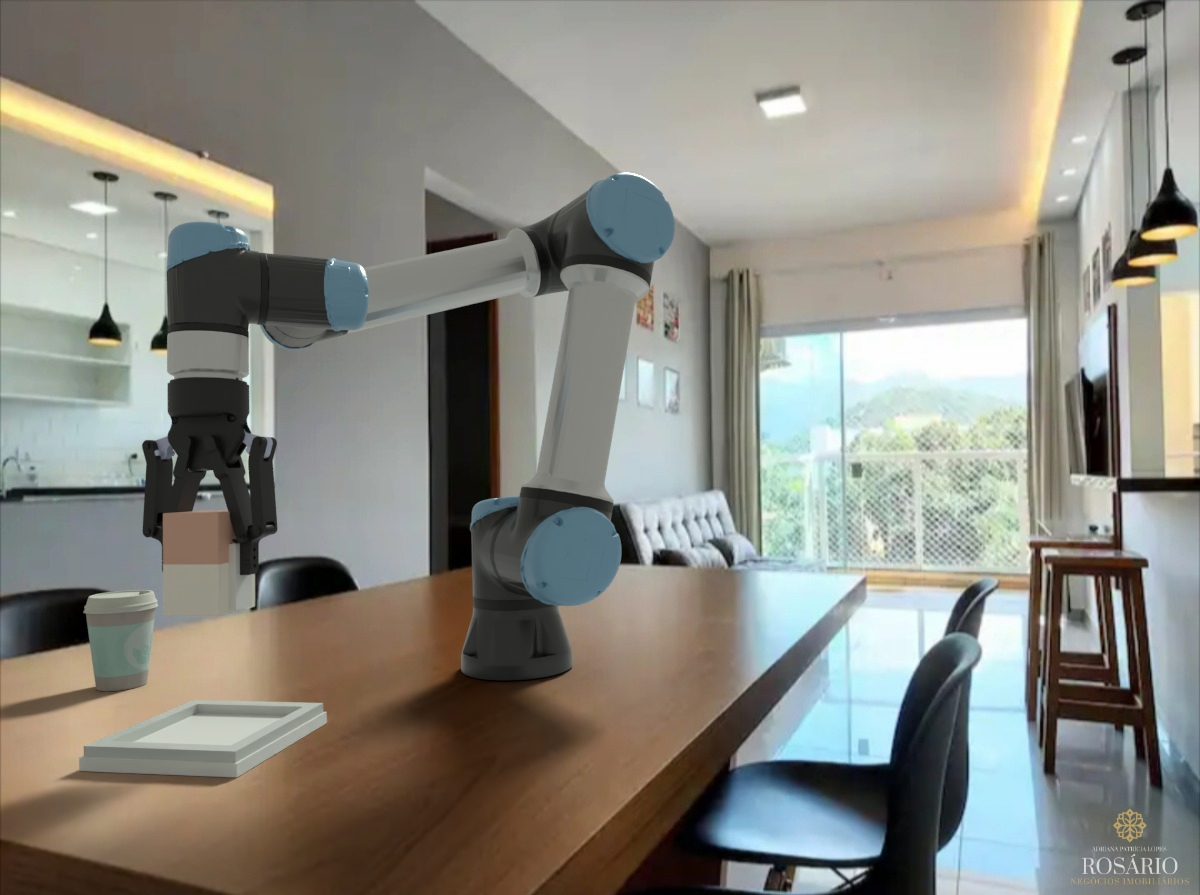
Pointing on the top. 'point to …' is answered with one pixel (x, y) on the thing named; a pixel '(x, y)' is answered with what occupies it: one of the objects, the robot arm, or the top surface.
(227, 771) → the base plate
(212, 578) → the brick stack
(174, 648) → the top surface
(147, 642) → the coffee cup
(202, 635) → the top surface
